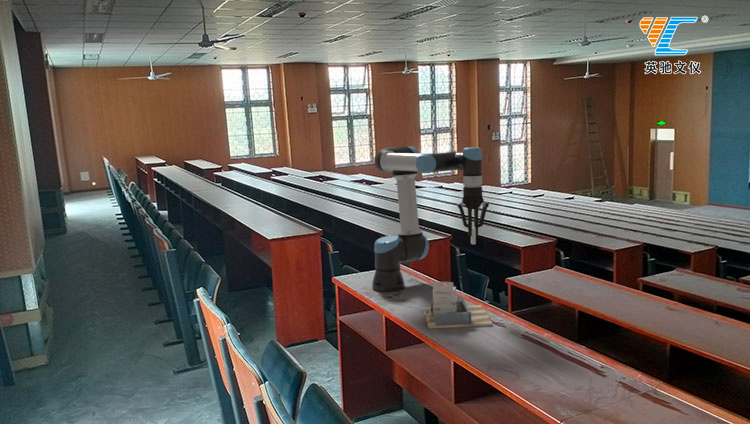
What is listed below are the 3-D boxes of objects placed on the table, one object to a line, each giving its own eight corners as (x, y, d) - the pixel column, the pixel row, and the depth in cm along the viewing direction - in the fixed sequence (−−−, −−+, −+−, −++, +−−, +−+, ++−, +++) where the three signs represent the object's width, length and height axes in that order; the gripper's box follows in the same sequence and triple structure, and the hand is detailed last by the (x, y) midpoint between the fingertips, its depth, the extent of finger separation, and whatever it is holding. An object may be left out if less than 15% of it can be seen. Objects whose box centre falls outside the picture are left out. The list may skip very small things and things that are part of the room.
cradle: (422, 310, 239) (422, 300, 239) (481, 307, 240) (481, 298, 239) (428, 328, 219) (428, 318, 218) (492, 325, 219) (492, 315, 218)
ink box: (457, 315, 229) (456, 278, 226) (454, 319, 224) (454, 282, 222) (435, 313, 231) (434, 277, 229) (432, 318, 227) (431, 281, 224)
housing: (428, 306, 239) (428, 297, 239) (461, 305, 239) (461, 295, 239) (435, 324, 219) (435, 314, 218) (471, 323, 219) (471, 313, 218)
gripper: (458, 187, 230) (458, 246, 234) (490, 186, 231) (491, 245, 234) (454, 185, 238) (455, 242, 242) (486, 184, 238) (487, 241, 242)
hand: (473, 243), depth 238 cm, fingers closed
